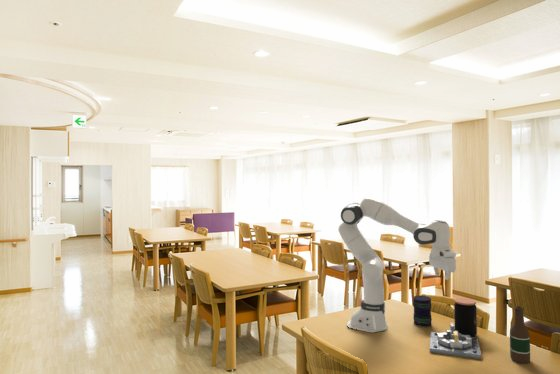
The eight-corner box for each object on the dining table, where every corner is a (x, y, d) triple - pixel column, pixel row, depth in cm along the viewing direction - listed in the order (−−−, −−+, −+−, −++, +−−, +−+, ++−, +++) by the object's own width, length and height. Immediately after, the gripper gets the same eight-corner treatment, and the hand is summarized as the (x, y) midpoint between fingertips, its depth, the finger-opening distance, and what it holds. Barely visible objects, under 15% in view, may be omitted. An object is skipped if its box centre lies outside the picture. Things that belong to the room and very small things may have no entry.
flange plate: (429, 352, 185) (429, 340, 185) (431, 335, 205) (430, 324, 205) (481, 359, 176) (481, 346, 176) (477, 341, 197) (477, 329, 197)
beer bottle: (506, 356, 178) (505, 304, 178) (522, 355, 179) (520, 304, 179) (518, 364, 170) (516, 310, 170) (534, 363, 171) (533, 309, 171)
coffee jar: (479, 338, 200) (478, 303, 200) (457, 337, 202) (456, 303, 202) (473, 331, 210) (472, 298, 210) (452, 330, 212) (451, 297, 212)
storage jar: (432, 327, 216) (431, 301, 216) (413, 326, 220) (413, 299, 220) (431, 321, 226) (430, 296, 226) (413, 320, 229) (412, 295, 229)
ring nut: (474, 350, 180) (473, 336, 180) (439, 347, 184) (439, 334, 184) (467, 336, 197) (467, 323, 197) (436, 334, 201) (435, 321, 201)
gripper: (425, 248, 214) (426, 273, 214) (446, 254, 193) (446, 282, 193) (436, 247, 214) (437, 272, 214) (458, 254, 194) (458, 281, 194)
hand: (441, 277), depth 204 cm, fingers open, 8 cm apart
